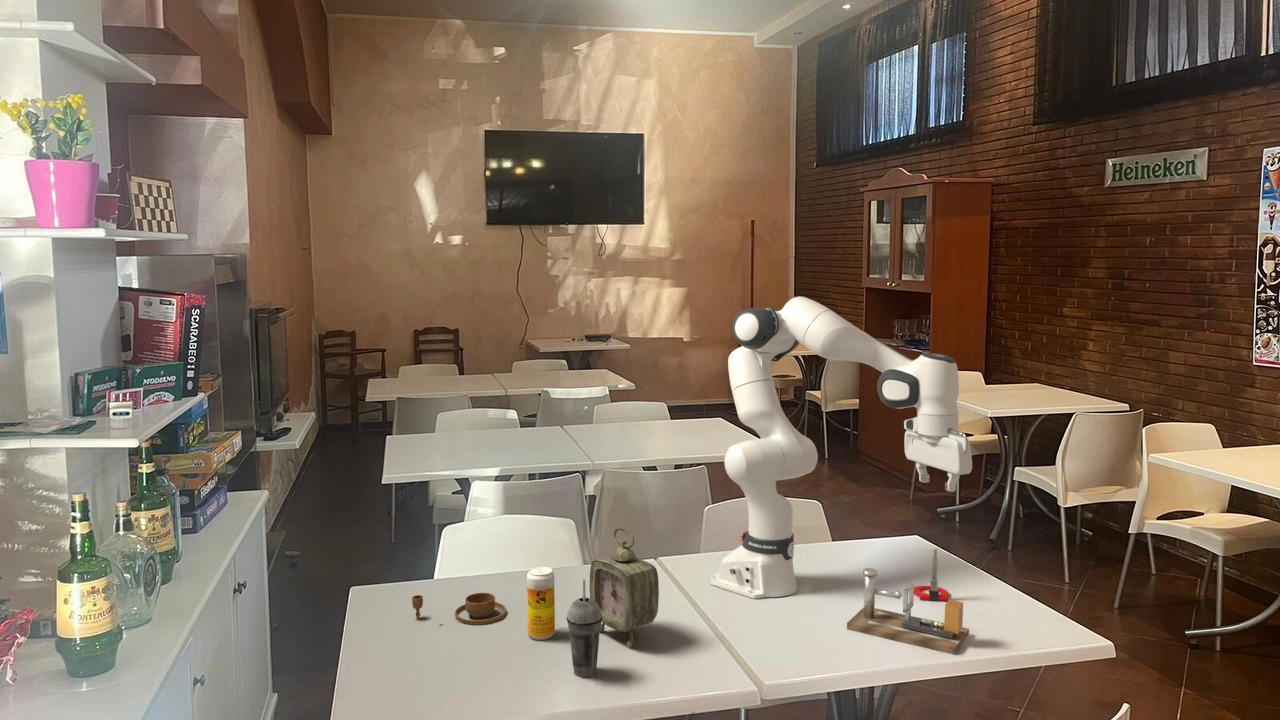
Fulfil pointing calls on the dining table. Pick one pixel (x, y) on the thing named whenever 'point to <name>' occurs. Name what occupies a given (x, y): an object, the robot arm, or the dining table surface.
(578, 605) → the beverage cup
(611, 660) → the dining table surface
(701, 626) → the dining table surface
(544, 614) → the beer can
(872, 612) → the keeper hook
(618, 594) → the tabletop clock
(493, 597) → the place setting
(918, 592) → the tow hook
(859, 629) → the board
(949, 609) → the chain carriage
